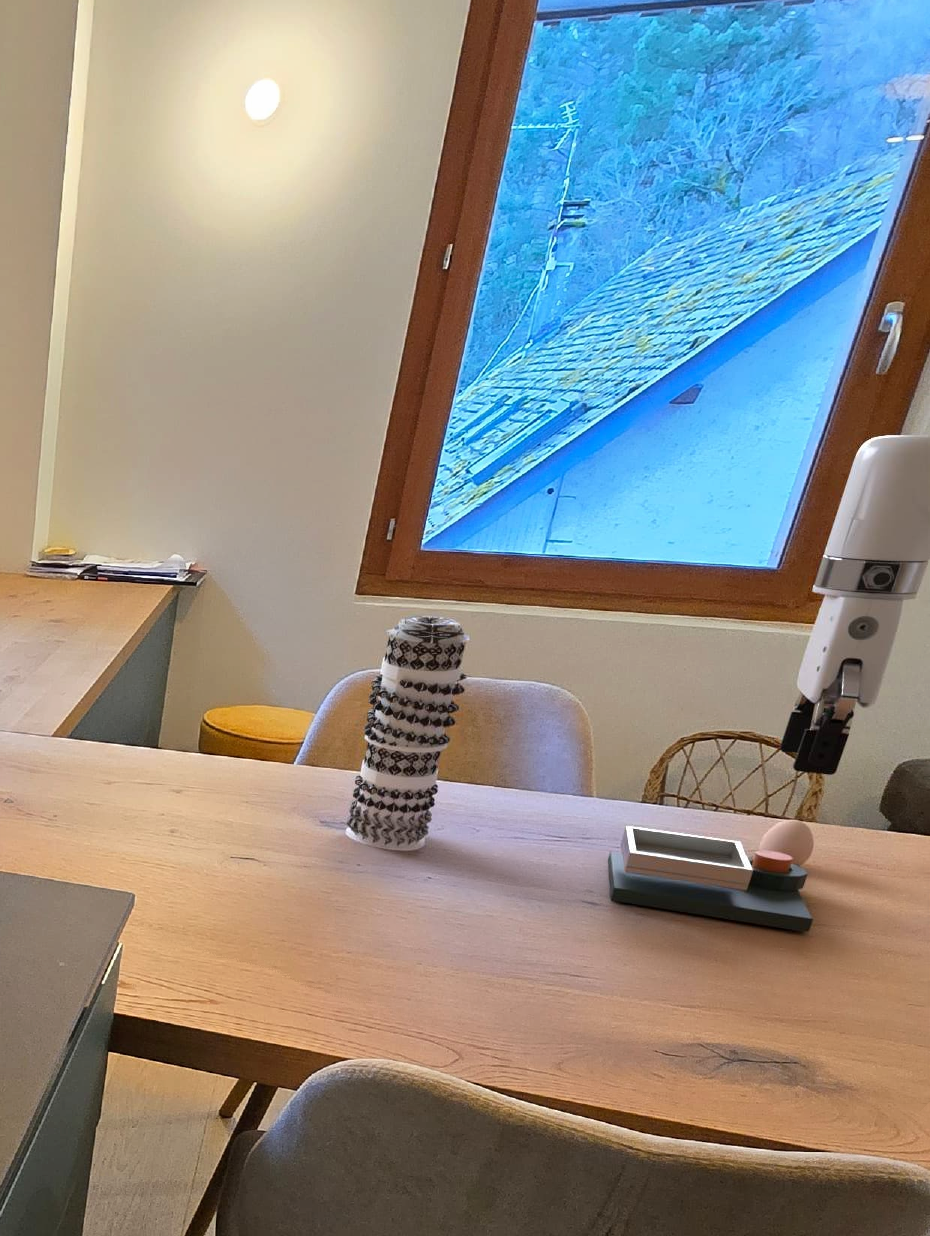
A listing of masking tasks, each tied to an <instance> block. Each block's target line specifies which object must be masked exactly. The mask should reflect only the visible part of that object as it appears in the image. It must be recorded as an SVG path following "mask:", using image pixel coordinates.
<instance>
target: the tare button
mask: <svg viewBox="0 0 930 1236" xmlns="http://www.w3.org/2000/svg"><path fill="white" fill-rule="evenodd" d="M753 857H754V860H753V863H752V866H754V867H756V868H760V869H764V870H767V871H774V872H788V871H789V868H790V866H791V863H792V860H793V858H792V857H791V856H789V855H787V854H784V853H780V852H774V851H759V850H757V851H756V852H755V853H754V856H753Z"/></svg>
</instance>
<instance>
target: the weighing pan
mask: <svg viewBox="0 0 930 1236" xmlns="http://www.w3.org/2000/svg"><path fill="white" fill-rule="evenodd" d="M620 848H621V853H622V857H623V864H624V871H625V872H629V873H635V874H642V875H648V876H655V877H661V878H668V879H674V880H681V881H688V882H694V883H701V884H707V885H714V886H720V887H727V888H733V889H740V890H747V888H748V884H749V882H750V879H751V876H752V873H753V869H752V867H751V864H750V862H749V860H748V858H747V857H748V855H747V853H746V851H745V848H744V846H743V844H742V841H740V840H739V841H738V840H731V839H723V838H718V837H717V838H715V837H709V836H703V835H702V836H701V835H695V834H687V833H680V832H679V833H678V832H672V831H665V830H659V829H658V830H657V829H651V828H643V827H636V826H628V825H626V826H625V828H624V831H623V836H622V838H621V842H620Z"/></svg>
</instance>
